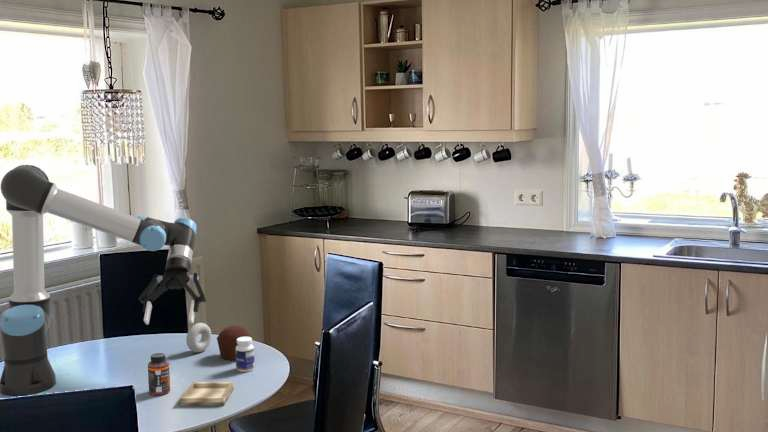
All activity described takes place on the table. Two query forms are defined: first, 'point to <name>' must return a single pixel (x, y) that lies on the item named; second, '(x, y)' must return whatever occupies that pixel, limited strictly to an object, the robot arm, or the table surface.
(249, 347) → the pill bottle
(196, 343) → the donut
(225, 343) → the muffin
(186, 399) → the birch tray
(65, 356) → the table surface
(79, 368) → the table surface
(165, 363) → the supplement bottle
